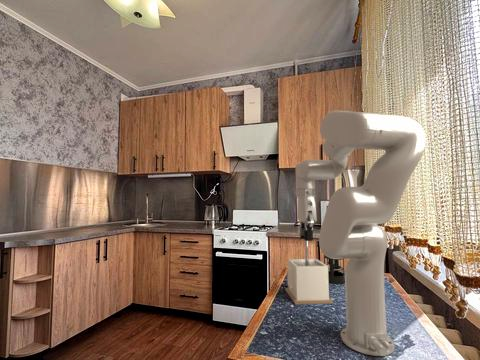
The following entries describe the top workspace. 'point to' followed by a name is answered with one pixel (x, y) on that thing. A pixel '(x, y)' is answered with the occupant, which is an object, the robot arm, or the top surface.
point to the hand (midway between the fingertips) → (306, 239)
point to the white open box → (308, 283)
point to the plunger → (306, 255)
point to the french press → (335, 271)
